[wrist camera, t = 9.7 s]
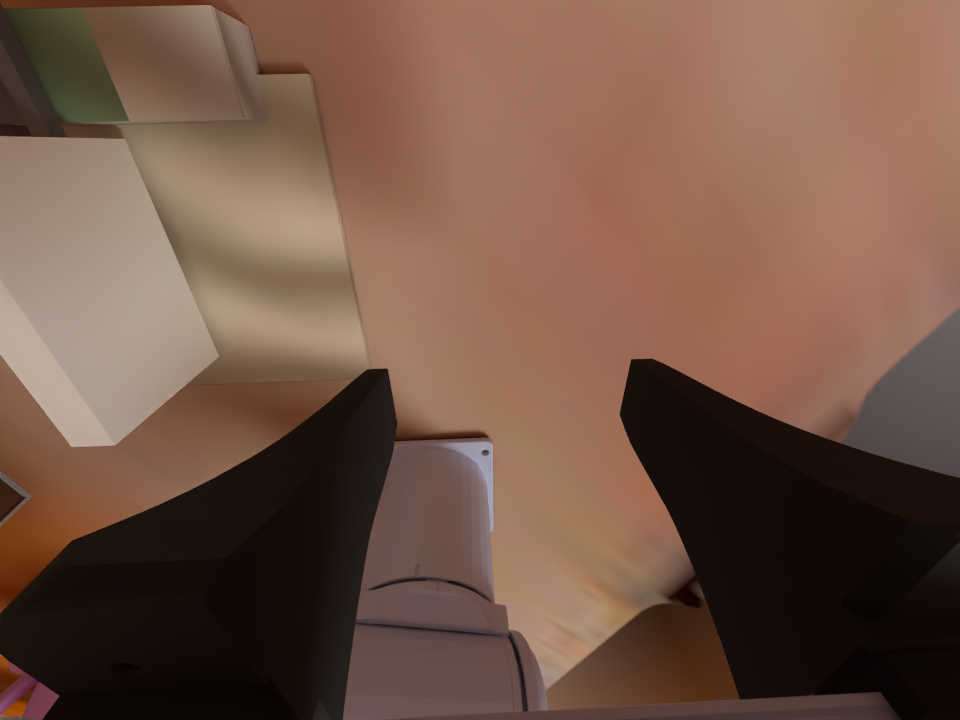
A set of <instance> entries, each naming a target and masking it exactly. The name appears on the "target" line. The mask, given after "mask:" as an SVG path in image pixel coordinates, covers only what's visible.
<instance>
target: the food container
mask: <svg viewBox="0 0 960 720" xmlns="http://www.w3.org/2000/svg"><path fill="white" fill-rule="evenodd" d="M32 497H33V496H31V495H30V494H29V493H27V492H26V491H25V490H24V489H22V488H21V487H20V486H19V485H17V484H16V483H15V482H14V481H12V480H11V479H10V478H9V477H7V476H6V475H5V474H3V473H2V472H1V471H0V527H1V526H2V525H3V524H4V523H5V522H7V521H8V520H9V519H10V518H11V517H12V516H13V515H14V514H15V513H16V512H17V511H18V510H19V509H20V508H21V507H22V506H23V505H24V504H25V503H26V502H27V501H28V500H29V499H31V498H32Z"/></svg>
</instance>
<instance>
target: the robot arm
mask: <svg viewBox="0 0 960 720" xmlns="http://www.w3.org/2000/svg"><path fill="white" fill-rule="evenodd" d="M620 417H621V419H622V422H623V425H624V428H625V431H626V433H627V436H628V438H629V441H630V443H631V445H632V447H633V449H634V451H635V452H636V454H637V456H638V458H639V460H640V461H641V463H642V465H643V467H644V469H645V470H646V472H647V474H648V476H649V478H650V479H651V481H652V483H653V485H654V486H655V488H656V490H657V492H658V494H659V495H660V497H661V499H662V501H663V502H664V504H665V506H666V508H667V510H668V512H669V514H670V516H671V518H672V520H673V522H674V524H675V526H676V528H677V531H678V533H679V535H680V538H681V540H682V542H683V545H684V547H685V549H686V551H687V554H688V556H689V559H690V561H691V564H692V566H693V569H694V571H695V574H696V576H697V579H698V581H699V584H700V586H701V589H702V591H703V594H704V596H705V599H706V602H707V604H708V607H709V610H710V613H711V615H712V618H713V621H714V623H715V626H716V629H717V632H718V634H719V637H720V640H721V643H722V646H723V649H724V652H725V655H726V658H727V661H728V664H729V667H730V670H731V673H732V676H733V679H734V682H735V685H736V688H737V691H738V694H739V698H740V700H725V701H706V702H688V703H670V704H651V705H634V706H615V707H597V708H579V709H561V710H547V702H546V695H545V689H544V684H543V679H542V675H541V671H540V668H539V665H538V662H537V660H536V657H535V655H534V654H533V652H532V650H531V649H530V647H529V645H528V643H527V641H526V640H525V638H524V637H523V635H522V634H521V633H519V632H518V631H513V630H509V629H508V618H507V607H506V606H504V605H498V604H495V593H494V578H493V563H492V548H491V532H492V531H493V444H492V441H491V440H490V439H489V438H466V439H442V440H418V441H395V436H396V429H397V419H396V413H395V408H394V402H393V396H392V390H391V385H390V379H389V373H388V369H367V370H366V371H364V372H363V373H362V374H360V375H359V376H358V377H357V378H356V379H355V380H354V381H352V382H351V383H350V384H349V385H348V386H347V387H346V388H345V389H343V390H342V391H341V392H340V393H339V394H338V395H336V396H335V397H334V398H333V399H332V400H331V401H329V402H328V403H327V404H326V405H325V406H324V407H322V408H321V409H320V410H318V411H317V412H316V413H315V414H313V415H312V416H311V417H309V418H308V419H307V420H306V421H304V422H303V423H302V424H300V425H299V426H298V427H297V428H295V429H294V430H292V431H291V432H290V433H288V434H287V435H285V436H284V437H282V438H281V439H280V440H278V441H276V442H275V443H273V444H272V445H270V446H269V447H267V448H266V449H264V450H263V451H261V452H259V453H258V454H256V455H254V456H253V457H251V458H249V459H247V460H246V461H244V462H242V463H240V464H239V465H237V466H235V467H233V468H231V469H230V470H228V471H226V472H224V473H222V474H221V475H219V476H217V477H215V478H213V479H211V480H210V481H208V482H206V483H204V484H202V485H200V486H198V487H196V488H194V489H192V490H190V491H188V492H185V493H183V494H181V495H179V496H177V497H175V498H173V499H170V500H168V501H166V502H164V503H162V504H160V505H157V506H155V507H153V508H151V509H148V510H146V511H144V512H141V513H139V514H137V515H134V516H132V517H129V518H127V519H124V520H122V521H120V522H117V523H115V524H112V525H110V526H107V527H105V528H102V529H100V530H98V531H95V532H93V533H90V534H88V535H85V536H83V537H80V538H77V539H75V540H73V541H71V542H70V543H69V544H68V545H67V546H66V547H65V548H64V549H63V550H62V551H61V552H60V553H59V554H58V555H57V556H56V557H55V558H54V559H53V560H52V561H51V562H50V563H49V564H48V565H47V566H46V567H45V568H44V569H43V570H42V571H41V573H40V574H39V575H38V576H37V577H36V578H35V579H34V580H33V581H32V582H31V583H30V584H29V585H28V586H27V587H26V588H25V589H24V590H23V591H22V592H21V593H20V594H19V595H18V596H17V597H16V598H15V599H14V600H13V601H12V602H11V603H10V604H9V605H8V606H7V607H6V608H5V609H4V610H3V611H2V612H1V613H0V654H1V655H2V656H4V657H5V658H6V659H7V660H8V661H9V662H11V663H12V664H14V665H15V666H17V667H18V668H19V669H21V670H22V671H24V672H25V673H27V674H28V675H30V676H31V677H33V678H34V679H35V680H37V681H38V682H40V683H41V684H43V685H44V686H46V687H47V688H49V689H50V690H51V691H53V692H54V693H56V694H57V695H59V697H58V699H57V700H56V701H55V703H54V704H53V705H52V707H51V708H50V710H49V711H48V712H47V714H46V715H45V716H44V718H43V719H42V720H960V478H958V477H953V476H949V475H945V474H941V473H937V472H934V471H930V470H927V469H923V468H919V467H916V466H912V465H909V464H905V463H901V462H898V461H894V460H891V459H887V458H884V457H881V456H878V455H874V454H871V453H868V452H865V451H862V450H859V449H855V448H853V447H850V446H847V445H844V444H841V443H838V442H835V441H832V440H829V439H826V438H823V437H820V436H818V435H815V434H812V433H809V432H807V431H804V430H802V429H799V428H797V427H794V426H792V425H789V424H787V423H784V422H782V421H779V420H777V419H774V418H772V417H770V416H767V415H765V414H763V413H761V412H758V411H756V410H754V409H752V408H750V407H748V406H746V405H743V404H741V403H739V402H737V401H735V400H733V399H731V398H729V397H727V396H725V395H723V394H721V393H719V392H717V391H715V390H713V389H711V388H709V387H707V386H705V385H703V384H702V383H700V382H698V381H696V380H694V379H692V378H690V377H688V376H686V375H685V374H683V373H681V372H679V371H677V370H675V369H673V368H671V367H669V366H667V365H665V364H663V363H661V362H659V361H656V360H654V359H631V363H630V368H629V373H628V377H627V382H626V387H625V391H624V396H623V401H622V406H621V410H620ZM483 450H488V451H486V452H484V451H483ZM0 720H37V719H31V718H26V717H11V716H10V717H0Z"/></svg>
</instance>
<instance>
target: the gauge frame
mask: <svg viewBox="0 0 960 720" xmlns="http://www.w3.org/2000/svg"><path fill="white" fill-rule="evenodd" d="M4 11H5V13H6V15H7V17H8V19H9V21H10V23H11V25H12V27H13V29H14V31H15V33H16V35H17V37H18V39H19V41H20V43H21V45H22V47H23V49H24V51H25V53H26V55H27V57H28V59H29V61H30V63H31V65H32V67H33V69H34V71H35V73H36V75H37V77H38V79H39V81H40V83H41V85H42V87H43V89H44V91H45V93H46V95H47V97H48V99H49V101H50V103H51V105H52V107H53V109H54V111H55V113H56V115H57V117H58V119H59V121H60V123H61V125H62V127H63V129H64V131H65V133H66V135H67V137H68V138H104V139H125V140H126V143H127V145H128V147H129V149H130V152H131V154H132V156H133V159H134V161H135V163H136V166H137V168H138V170H139V173H140V175H141V177H142V179H143V182H144V184H145V186H146V189H147V191H148V193H149V196H150V198H151V200H152V202H153V205H154V207H155V209H156V212H157V214H158V216H159V219H160V221H161V223H162V226H163V228H164V230H165V232H166V235H167V237H168V239H169V242H170V244H171V246H172V249H173V251H174V253H175V256H176V258H177V260H178V262H179V265H180V267H181V269H182V272H183V274H184V276H185V279H186V281H187V283H188V286H189V288H190V290H191V292H192V295H193V297H194V299H195V302H196V304H197V306H198V309H199V311H200V313H201V315H202V318H203V320H204V322H205V325H206V327H207V329H208V332H209V334H210V336H211V339H212V341H213V343H214V345H215V348H216V350H217V352H218V355H219V357H218V358H217V359H216V360H215V361H213V362H212V363H211V364H210V365H209V366H207V367H206V368H205V369H204V370H203V371H202V372H200V373H199V374H198V375H197V376H196V377H195V378H193V379H192V380H191V381H190V382H189V383H188V384H186V385H207V384H234V383H260V382H286V381H313V380H339V379H356V378H357V377H358V376H359V375H360V374H362V373H363V372H364V371H366V370H367V369H371V366H370V361H369V356H368V351H367V346H366V341H365V336H364V331H363V326H362V321H361V316H360V311H359V306H358V301H357V296H356V291H355V286H354V281H353V276H352V271H351V266H350V261H349V256H348V251H347V246H346V241H345V236H344V231H343V226H342V221H341V216H340V211H339V206H338V201H337V196H336V191H335V186H334V181H333V176H332V171H331V166H330V161H329V156H328V151H327V146H326V141H325V136H324V131H323V126H322V121H321V116H320V111H319V106H318V101H317V96H316V91H315V86H314V81H313V76H312V75H311V74H270V75H261V74H260V70H259V66H258V62H257V58H256V54H255V50H254V46H253V42H252V38H251V35H250V31H249V27H248V26H247V25H245V24H243V23H241V22H240V21H238V20H236V19H234V18H232V17H231V16H229V15H227V14H225V13H223V12H222V11H220V10H218V9H216V8H214V7H213V6H211V5H186V6H133V7H81V8H28V9H4ZM0 136H16V137H32V135H31V133H30V131H29V129H28V127H27V125H26V124H25V122H24V120H23V118H22V116H21V114H20V112H19V111H18V109H17V107H16V105H15V103H14V101H13V99H12V98H11V96H10V94H9V92H8V90H7V88H6V86H5V85H4V83H3V81H2V79H1V77H0ZM0 356H1V355H0ZM1 357H2V356H1ZM3 360H4V359H3ZM4 361H5V360H4ZM6 364H7V363H6ZM7 365H8V364H7ZM8 366H9V365H8ZM9 368H10V367H9ZM10 369H11V368H10ZM11 370H12V369H11ZM13 373H14V372H13ZM14 374H15V373H14ZM15 375H16V374H15ZM16 377H17V376H16ZM17 378H18V377H17ZM18 379H19V378H18ZM20 382H21V381H20ZM21 383H22V382H21ZM23 386H24V385H23ZM24 387H25V386H24ZM25 388H26V387H25ZM27 391H28V390H27ZM28 392H29V391H28ZM30 395H31V394H30ZM31 396H32V395H31ZM32 397H33V396H32ZM34 400H35V399H34ZM35 401H36V400H35ZM37 404H38V403H37ZM38 405H39V404H38ZM39 406H40V405H39ZM40 408H41V407H40ZM41 409H42V408H41ZM42 410H43V409H42ZM44 413H45V412H44ZM45 414H46V413H45Z"/></svg>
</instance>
